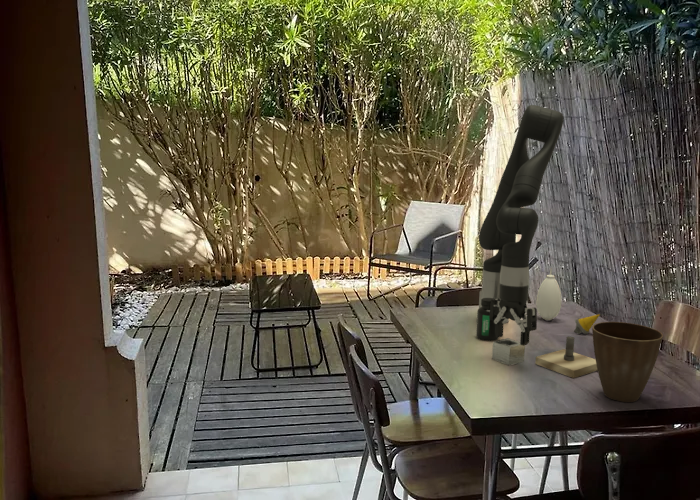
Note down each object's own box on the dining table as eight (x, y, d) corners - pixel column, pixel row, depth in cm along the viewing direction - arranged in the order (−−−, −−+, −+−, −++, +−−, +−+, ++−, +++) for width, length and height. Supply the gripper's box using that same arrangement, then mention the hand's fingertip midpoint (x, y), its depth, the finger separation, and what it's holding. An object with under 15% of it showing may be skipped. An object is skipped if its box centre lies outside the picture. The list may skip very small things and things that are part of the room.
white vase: (549, 324, 201) (553, 270, 198) (530, 318, 207) (533, 266, 204) (564, 320, 205) (568, 268, 202) (545, 315, 211) (549, 264, 208)
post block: (535, 363, 164) (537, 335, 162) (563, 355, 170) (565, 328, 169) (573, 378, 154) (575, 347, 153) (602, 369, 161) (604, 339, 159)
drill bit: (577, 330, 196) (603, 313, 191) (581, 341, 192) (607, 324, 187) (566, 321, 195) (592, 304, 190) (569, 332, 190) (596, 315, 185)
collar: (491, 359, 167) (492, 341, 166) (506, 355, 171) (507, 337, 170) (508, 365, 162) (509, 347, 162) (523, 361, 166) (525, 343, 165)
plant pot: (579, 382, 151) (584, 320, 149) (642, 385, 150) (648, 322, 147) (597, 407, 137) (603, 339, 134) (667, 411, 135) (674, 342, 133)
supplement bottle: (487, 342, 181) (489, 303, 179) (471, 336, 187) (473, 298, 185) (503, 339, 185) (505, 300, 183) (487, 333, 191) (489, 295, 189)
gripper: (545, 285, 159) (541, 345, 161) (503, 276, 171) (500, 332, 173) (526, 288, 155) (523, 350, 157) (484, 279, 166) (482, 336, 169)
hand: (511, 340), depth 165 cm, fingers open, 8 cm apart
